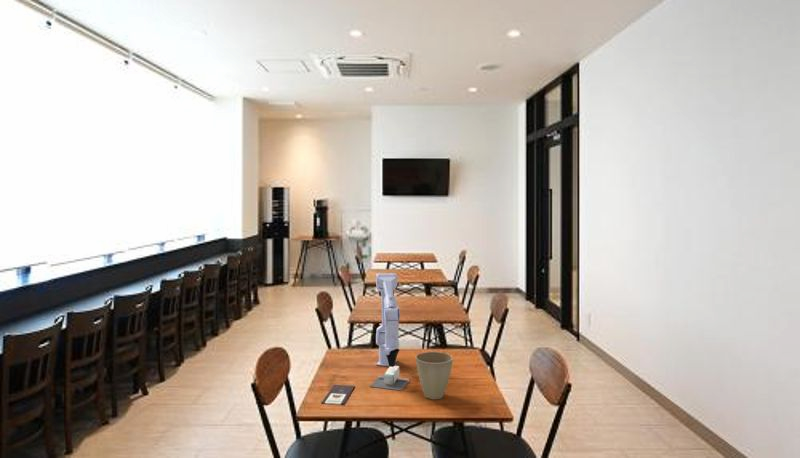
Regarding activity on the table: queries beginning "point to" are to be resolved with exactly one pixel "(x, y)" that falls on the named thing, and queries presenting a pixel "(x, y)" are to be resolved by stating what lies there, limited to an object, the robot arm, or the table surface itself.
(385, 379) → the tall block
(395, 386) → the mat
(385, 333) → the robot arm
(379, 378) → the stop rail
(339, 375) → the table surface
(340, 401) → the chocolate bar
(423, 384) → the plant pot
